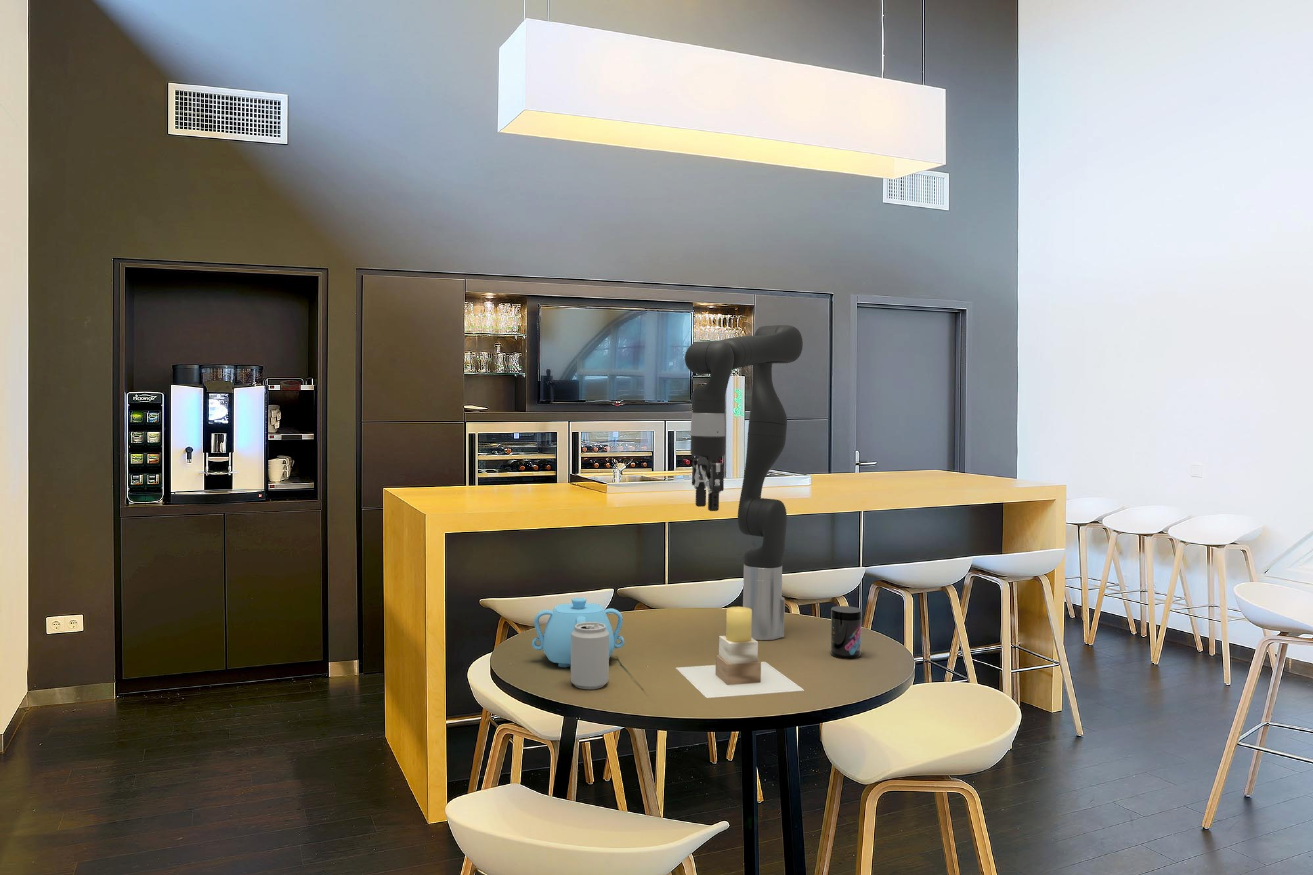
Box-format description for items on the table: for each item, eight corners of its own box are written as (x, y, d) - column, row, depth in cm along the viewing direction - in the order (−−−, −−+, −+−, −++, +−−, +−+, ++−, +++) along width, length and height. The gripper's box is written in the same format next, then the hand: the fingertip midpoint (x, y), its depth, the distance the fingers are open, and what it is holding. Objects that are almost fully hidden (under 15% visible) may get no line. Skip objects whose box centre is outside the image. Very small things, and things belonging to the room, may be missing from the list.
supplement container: (840, 660, 204) (841, 613, 203) (824, 652, 210) (825, 606, 210) (866, 658, 206) (867, 611, 205) (850, 650, 212) (851, 605, 212)
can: (570, 679, 187) (571, 620, 187) (607, 678, 188) (608, 620, 188) (570, 690, 180) (571, 629, 179) (609, 690, 181) (609, 629, 180)
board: (765, 666, 198) (765, 661, 198) (804, 695, 179) (804, 690, 179) (675, 672, 193) (675, 667, 193) (706, 703, 174) (706, 697, 174)
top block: (746, 653, 190) (747, 634, 189) (757, 662, 184) (758, 642, 184) (718, 655, 188) (719, 636, 188) (729, 663, 182) (729, 643, 182)
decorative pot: (574, 677, 189) (575, 611, 188) (524, 660, 200) (525, 598, 199) (631, 661, 201) (632, 599, 200) (581, 646, 212) (582, 587, 211)
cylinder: (745, 635, 189) (746, 606, 188) (754, 641, 184) (755, 611, 184) (722, 636, 187) (723, 607, 187) (731, 643, 182) (731, 612, 182)
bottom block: (747, 672, 190) (748, 653, 190) (760, 682, 184) (761, 662, 183) (715, 674, 188) (715, 655, 188) (727, 685, 182) (727, 664, 182)
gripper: (736, 435, 195) (734, 512, 196) (713, 432, 209) (712, 504, 210) (702, 435, 193) (700, 513, 194) (681, 432, 207) (680, 505, 208)
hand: (706, 508), depth 202 cm, fingers open, 8 cm apart
